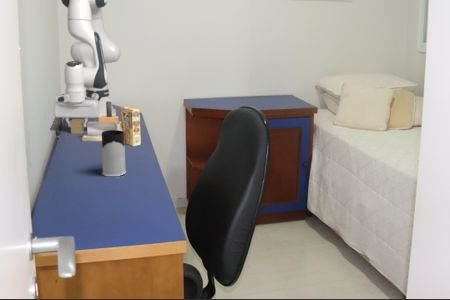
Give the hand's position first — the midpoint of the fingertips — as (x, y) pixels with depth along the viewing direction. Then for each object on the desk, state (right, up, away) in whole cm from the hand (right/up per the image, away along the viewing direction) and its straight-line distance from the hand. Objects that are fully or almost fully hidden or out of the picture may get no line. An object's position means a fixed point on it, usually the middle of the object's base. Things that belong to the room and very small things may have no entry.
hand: (77, 126), depth 249 cm
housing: (0, -3, +1) cm, 3 cm away
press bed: (+14, -4, -3) cm, 15 cm away
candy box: (+28, -8, -18) cm, 35 cm away
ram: (+14, 0, +3) cm, 14 cm away
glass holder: (+29, -19, -57) cm, 66 cm away
